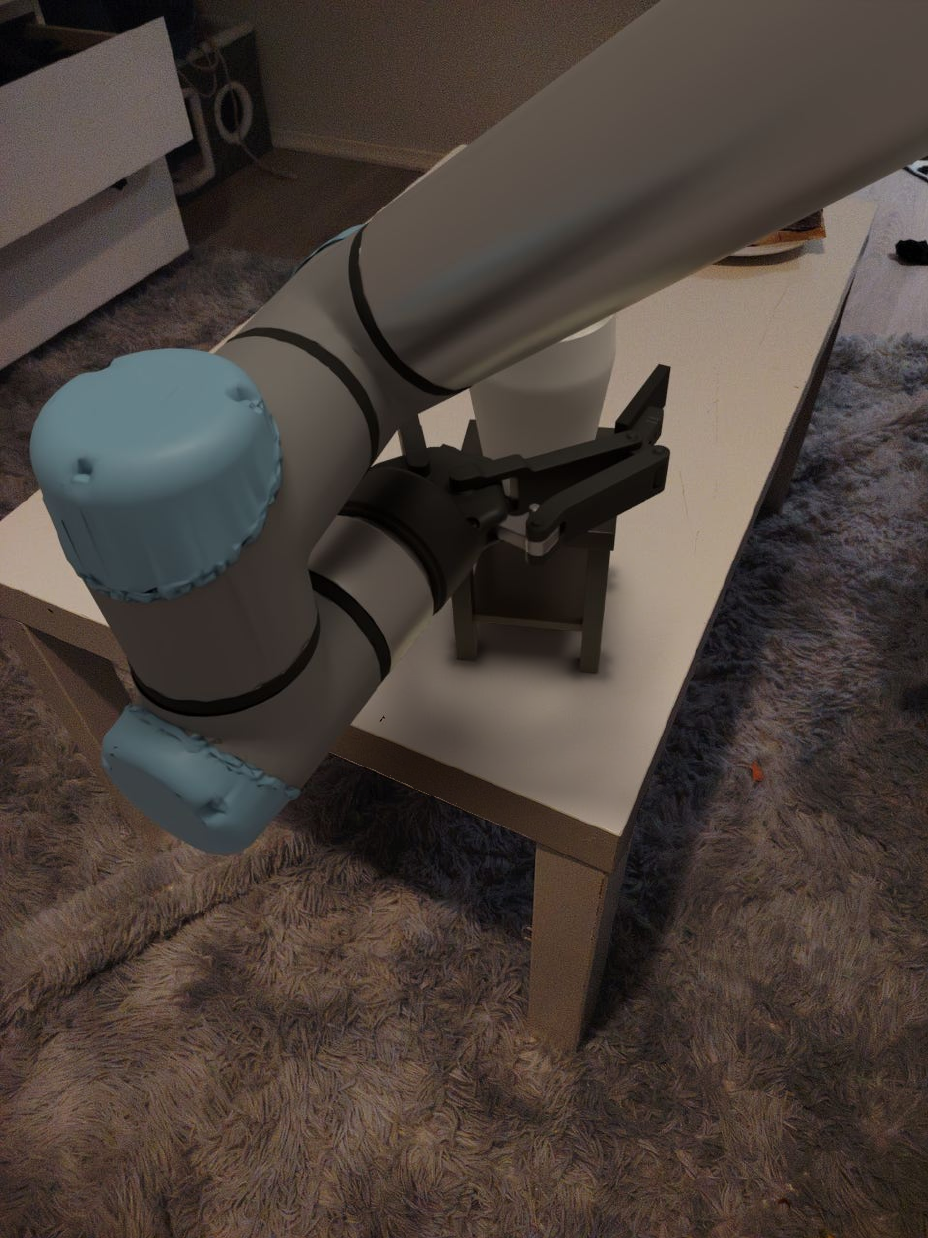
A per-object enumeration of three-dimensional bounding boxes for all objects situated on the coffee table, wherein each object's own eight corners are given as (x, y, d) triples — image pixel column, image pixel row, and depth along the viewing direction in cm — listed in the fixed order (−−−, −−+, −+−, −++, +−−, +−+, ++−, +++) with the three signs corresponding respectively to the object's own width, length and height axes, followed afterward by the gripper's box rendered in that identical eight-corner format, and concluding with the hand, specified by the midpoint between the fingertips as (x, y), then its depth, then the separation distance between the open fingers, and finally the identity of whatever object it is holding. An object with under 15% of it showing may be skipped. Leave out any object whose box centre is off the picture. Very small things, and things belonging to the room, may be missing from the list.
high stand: (610, 571, 72) (624, 427, 62) (600, 675, 65) (615, 533, 55) (476, 559, 74) (469, 418, 64) (453, 660, 67) (440, 519, 56)
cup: (633, 479, 58) (653, 308, 49) (523, 535, 55) (523, 364, 46) (548, 415, 63) (552, 251, 55) (443, 464, 60) (429, 297, 51)
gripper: (206, 548, 51) (403, 365, 64) (600, 708, 42) (743, 460, 54) (167, 442, 46) (391, 264, 58) (612, 600, 37) (768, 350, 49)
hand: (562, 358), depth 56 cm, fingers open, 13 cm apart
